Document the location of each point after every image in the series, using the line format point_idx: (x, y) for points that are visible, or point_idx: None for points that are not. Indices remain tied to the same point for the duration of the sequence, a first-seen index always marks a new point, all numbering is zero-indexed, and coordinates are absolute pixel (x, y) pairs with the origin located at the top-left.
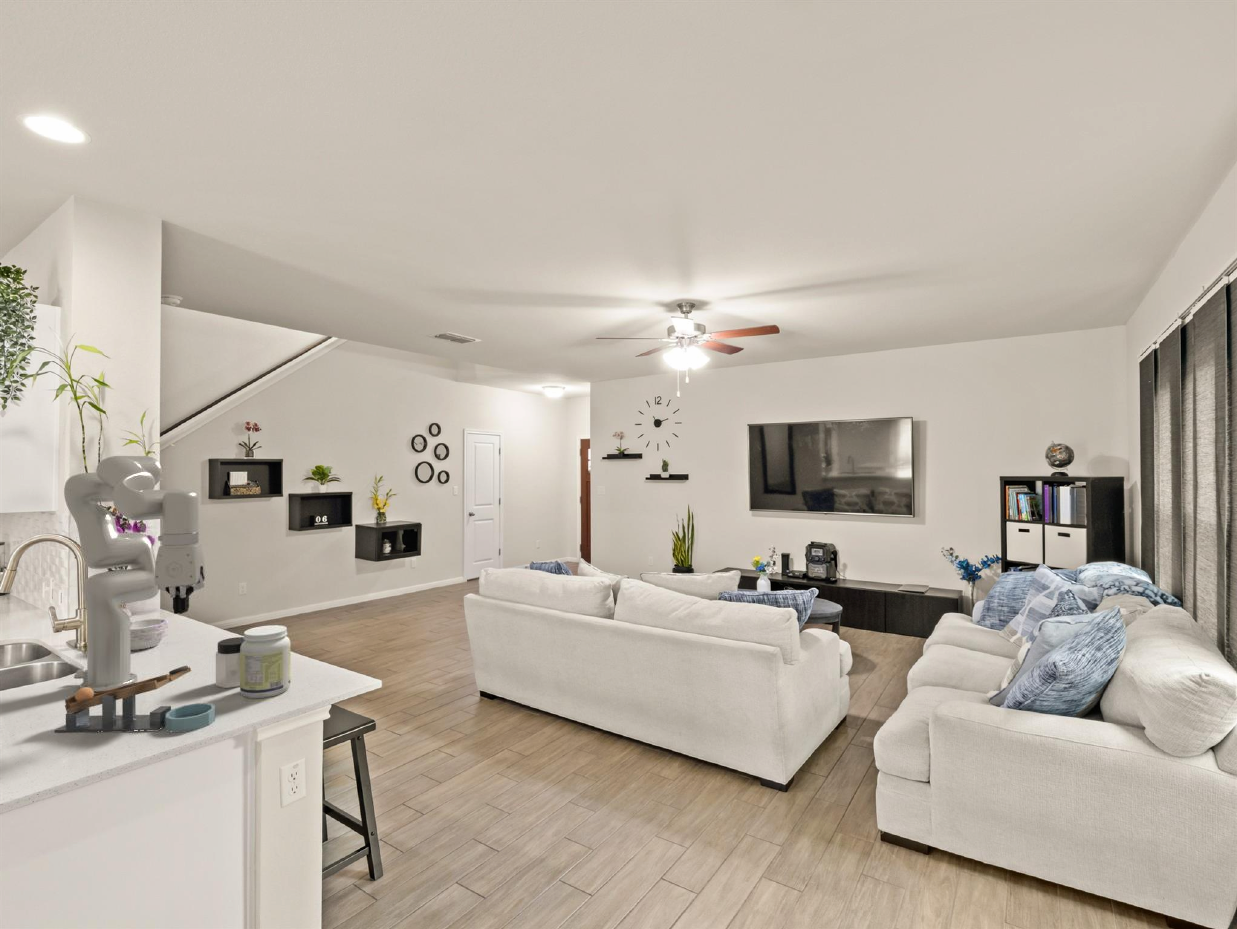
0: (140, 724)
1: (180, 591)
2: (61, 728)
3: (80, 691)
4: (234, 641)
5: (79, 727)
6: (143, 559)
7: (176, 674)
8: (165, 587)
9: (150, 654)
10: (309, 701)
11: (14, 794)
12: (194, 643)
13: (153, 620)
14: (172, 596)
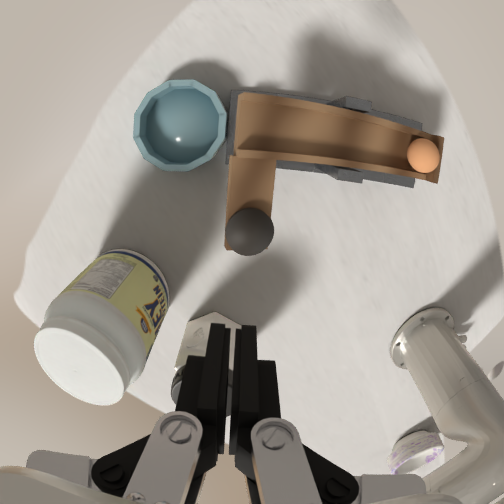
0: None
1: (247, 485)
2: (416, 128)
3: (431, 145)
4: None
5: None
6: None
7: (230, 184)
8: (363, 500)
9: (395, 427)
10: (39, 227)
11: None
12: (354, 456)
13: (406, 471)
14: (280, 432)
